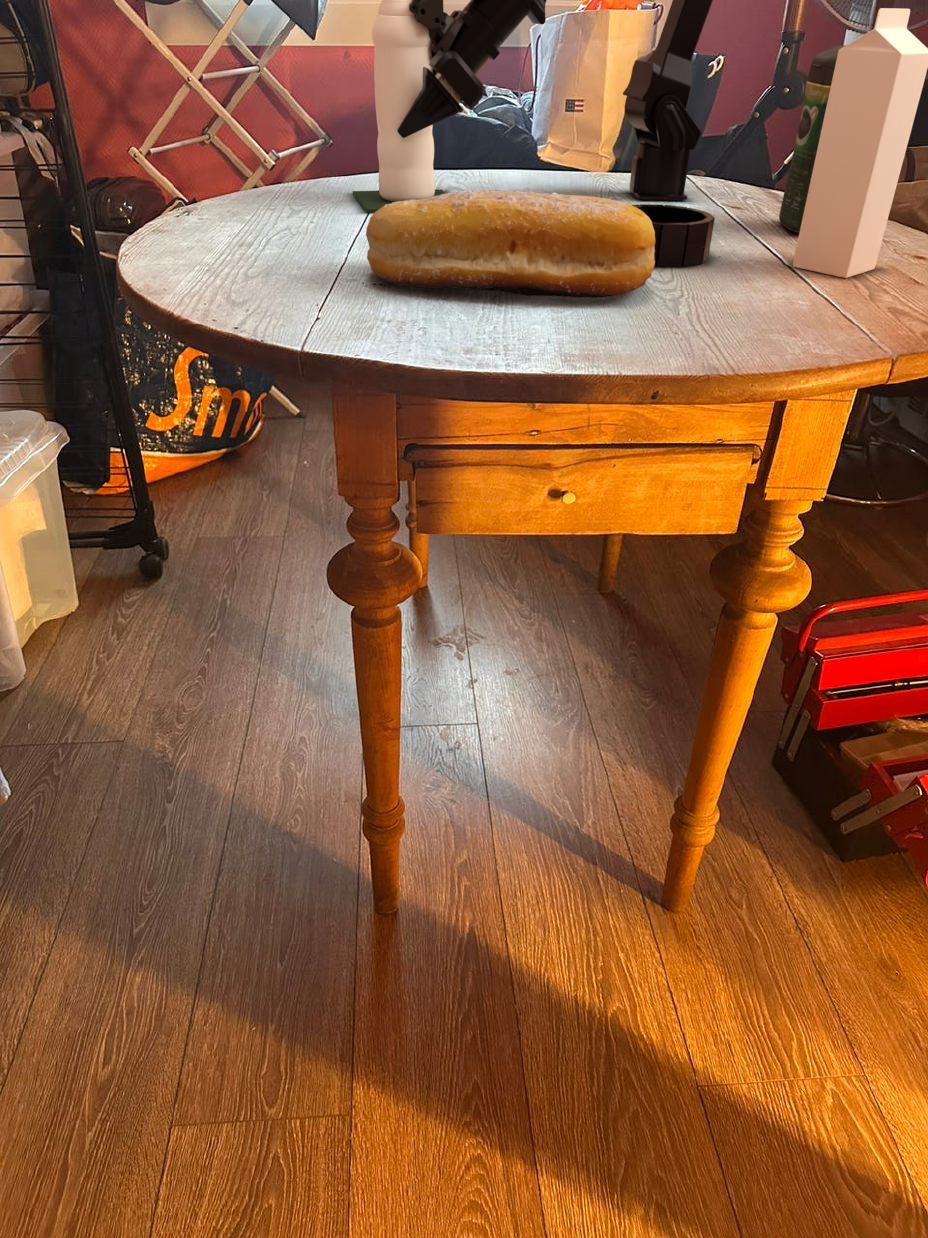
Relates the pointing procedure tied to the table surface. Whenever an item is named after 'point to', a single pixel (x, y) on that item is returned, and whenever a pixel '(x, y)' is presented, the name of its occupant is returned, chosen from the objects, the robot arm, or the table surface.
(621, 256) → the bread
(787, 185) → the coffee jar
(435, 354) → the table surface
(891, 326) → the table surface
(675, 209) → the holder
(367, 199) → the mat
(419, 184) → the water bottle
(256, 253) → the table surface
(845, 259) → the milk
